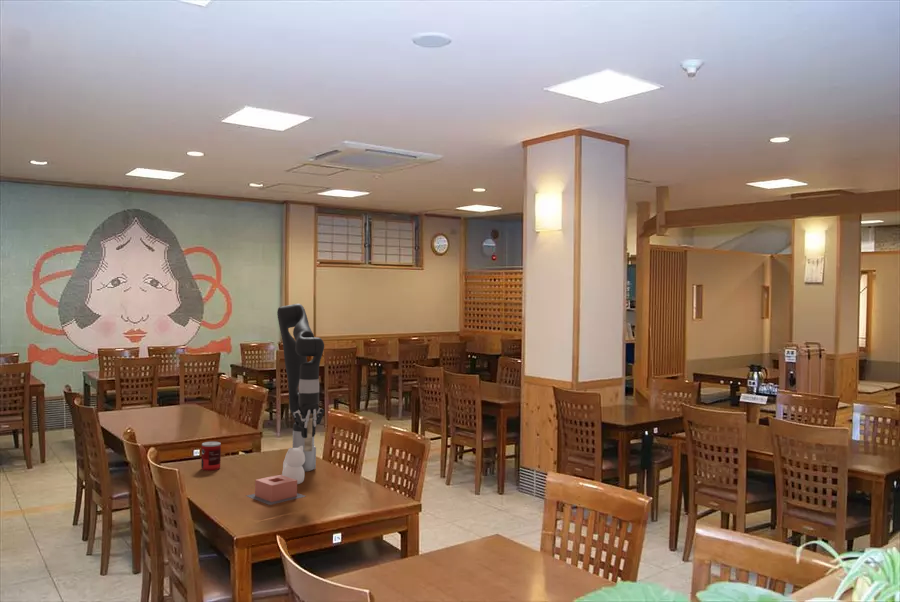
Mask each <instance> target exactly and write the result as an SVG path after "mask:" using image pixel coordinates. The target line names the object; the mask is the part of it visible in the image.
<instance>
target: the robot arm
mask: <svg viewBox="0 0 900 602" xmlns="http://www.w3.org/2000/svg"><path fill="white" fill-rule="evenodd" d="M305 309H306V308H305V307H304V306H303V305H302V304H301V303H294V304H289V305H283V306H280V307H278V308H277V321H278V327H279V330H280V334H281V335H280V336H281V340H282V342H281V343H282V349H283V359H284V367H285V371H286V376H287V386H288V403H289V409H290V412H291V415H292V417H293V420H294V423H293V424H292V448H298V447H300V446H303V452H304V455H305V462H304V464H303V465H302V467H303V469H304V473H305V472H310V471H311V472H312V471H314V470H316V469H317V468H316V465H317V464H316V463H317V462H316V461H317V447H316V446H315V435H316V428H317V427H316V426H318V425H321V422H322V420H323V417H324V414H325V409H324V408H322V407H321V408H320V406H319V403H320V379H319V378H320V364H321V360H322V357H323V354H324V350H325V342H324V340H323V339H322V338H321V337H315V335H314V332H313V331H312V329H311V327H310V322H309V318H308V316H307V312H306V310H305ZM291 328H293V330H292V334H293V336H292V335H291V333H290V331H289V329H291ZM308 357H312V359H311V360H310V361H308ZM311 413H312V414H313V422H312V451H304V443H305V438H307V423H308V421H309V415H310V414H311Z"/></svg>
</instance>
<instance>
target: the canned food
mask: <svg viewBox="0 0 900 602" xmlns="http://www.w3.org/2000/svg"><path fill="white" fill-rule="evenodd" d="M221 453H222V444H221V442H219V441H205V442H202V443H201V462H200V463H201V464H200V465H201V470H203V471H207V472H208V471H217V470H219V469H220V468H221V460H222V459H221V456H222V454H221Z"/></svg>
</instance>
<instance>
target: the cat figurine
mask: <svg viewBox="0 0 900 602" xmlns="http://www.w3.org/2000/svg"><path fill="white" fill-rule="evenodd" d="M284 457H285V458H284V460H283V463H282V472H281V475H283V476H286V477H289V478H292V479H295V480H297V485H299V484H302V483H303V482H304V481H305V472H304V469H303V467H302V465H303V464H304V462H305V455H304V452H303V446H300V447H298V448H293V447H289V448H288V450H287V452H286V454H285V456H284Z"/></svg>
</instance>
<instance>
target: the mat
mask: <svg viewBox="0 0 900 602" xmlns="http://www.w3.org/2000/svg"><path fill="white" fill-rule="evenodd" d="M246 497H247V498H250V499H253V500H256V501H258V502H260V503H264V504H266V505H269V506H271V505H276V504H279V503H280V504H281V503H283V502H287V501H292V500H293V501H294V500H298V499H301V498H306V497H307V495H304V494H302V493H298V492H297V496H295V497H291V498H287V499H282V500H278V501H274V502H270V501H267V500H265V499H262V498H260V497H257V496H255V493H251V494H248V495H246Z"/></svg>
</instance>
